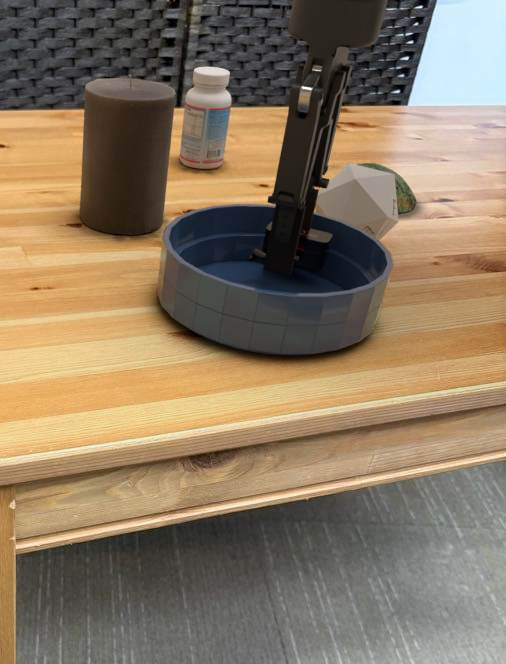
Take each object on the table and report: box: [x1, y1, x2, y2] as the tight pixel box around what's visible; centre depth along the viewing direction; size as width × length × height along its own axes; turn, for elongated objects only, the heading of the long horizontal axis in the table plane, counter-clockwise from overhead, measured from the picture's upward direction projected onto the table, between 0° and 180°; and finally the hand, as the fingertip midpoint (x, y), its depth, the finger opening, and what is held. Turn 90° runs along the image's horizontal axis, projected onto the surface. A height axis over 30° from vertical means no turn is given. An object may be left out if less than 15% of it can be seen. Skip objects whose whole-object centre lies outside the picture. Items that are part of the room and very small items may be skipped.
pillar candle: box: [79, 74, 176, 236], centre depth 89 cm, size 10×10×15 cm
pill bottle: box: [179, 66, 232, 170], centre depth 108 cm, size 6×6×11 cm
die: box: [314, 162, 399, 241], centre depth 90 cm, size 8×9×10 cm
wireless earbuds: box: [247, 222, 333, 272], centre depth 81 cm, size 5×7×3 cm, turn 65°
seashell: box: [356, 162, 417, 214], centre depth 103 cm, size 10×4×10 cm
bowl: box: [156, 203, 395, 356], centre depth 78 cm, size 21×21×6 cm
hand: (284, 261), depth 82 cm, fingers closed on wireless earbuds, 4 cm apart
